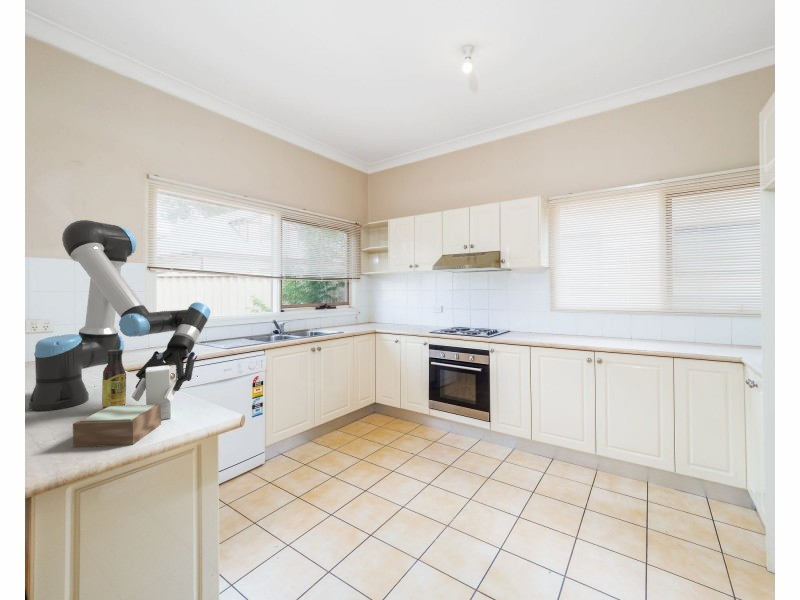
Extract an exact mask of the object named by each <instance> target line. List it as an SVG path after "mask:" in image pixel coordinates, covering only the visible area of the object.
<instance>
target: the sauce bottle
mask: <svg viewBox="0 0 800 600" xmlns="http://www.w3.org/2000/svg"><path fill="white" fill-rule="evenodd" d="M123 353H124V351H123V352H122V350H121V349H116V350H108V351H107V355H108V362H107V364H106V366H105V367H104V369H103V371H102V388H101V389H102V390H101V392H102V393H101V406H102V408H101V410H102V409H104V408H106V407H108V406H123V405H126V403H127V394H126V393H127V372H126V371H125V366H124V365H123V361H122V359H123Z"/></svg>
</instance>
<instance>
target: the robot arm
mask: <svg viewBox="0 0 800 600" xmlns="http://www.w3.org/2000/svg"><path fill="white" fill-rule="evenodd" d="M61 240H62V246H63V247H64V249H65V251H66V253H67V255H68V256H69V257H70V259H71V260H72V261H74V262H77V263H78V264H79V265H80V266H81V267H82V269H83V270H84V271H85V272H86V274H87V275H88V276H89V278H90V279H89V281H90V282H89V288H88V297H87V304H86V305H87V306H86V315H85V324H84V326H83V327H81V328H80V329H79V330H78V334H75V333H74V334H62V335H54V336H49V337H48V336H47V337H45V338H43V339H40V340H38V341H37V342H36V344H35V348H34V349H35V351H34V359H35V365H34V366H35V387H33V391H32V393H31V395H30V399H29V401H28V409H29V410H30V409H32V410H31V411H36V410H43V411H51V410H60V409H66V408H70V407H74V406H79V405H81V404H84V403H87V402H88V401H89V391H88V390H87V386H86V385H85V383H84V381H83V378H82V377H83V375H82V372H83V371H82V370H83V369H88V368H92V367H98V366H104V365H108V363H107V362H108V355H107V351H108V350H116V349H121V350H122V352H123V353H124V349H125V342H124V341H125V340H123V337H122V336H121V335H120V334H119V331H120V333H122V334H123V335H125V336H126V337H129V338H130V337H132V338H133V337H143V336H147V335H152V334H160V333H161V334H162V333H169V332H173V334H172V336H171V338H170V339H169V341H168V343H167V345H166V349H165V350H164V351H163V352H159V351H158V350H156V351H154V353H153V354H152V356H151V357H150V358H149V360H148V361H147V362H146V363H145V364H144V365H143V366H142V367H141V368H140V369H139V370H138V371H137V372H136V373H135V376H136V377H137V378H138V379H139V380H138V382H137V384H136V385H135V390H134V392H133V393H132V395H131V398H132V399H133V400H135V401H136V402H139V401H140V399H141V398H142V396H143V394H144V392H146V370H145V369H146V368H147V367H157V366H165V365H169V366H171V365H175V368H176V378H173V379H172V382H171V383H170V388H169V389H168V391H167V393H166V395H165V397H164V398H165V399H166V400H167V401H168V402H171V403H172V400H173V398H174V397H175V395H176V393H177V392H179V391H180V389H181V388H182V385H183V383H185V382H190V381H191V380H192V376H193V371H194V365H195V362H196V360H197V357H198V355H196V354H195V351H193V348H194V346H195V344H196V343H197V341H198V338H199V337H200V335H201V332H202V331H203V329H204V327H205V325H206V324H207V322H208V320H209V318H210V316H211V308H209V306H207V305H206V304H204V303H202V302H193V303H191V304H190V305H189V306H188V308H187V309H179V310H160V311H149V310H148V309H147V307H146V306H145V305H144V304H143V302H142V301H141V299H140V298H139V297H138V296H137V294H136V293H135V292H134V290H133V289H132V287H131V286H130V285H129V283H128V282H127V281H126V280H125V278H124V277H123V275H121V270H122V266H124V265H125V264H126V263H128V258H129V257H131V256H132V255H133V254H134V253H135V252H136V249H137V241H136V238H135V236H134V234H133V233H132V232H131V230H129V229H127V228H126V227H122V226H119V225H115V224H109V223H103V222H98V221H93V220H89V219H81V220H76V221H74V222H71V223H70V224H69V225H67V226H66V227H65V228H64V231H63V232H62V238H61ZM116 314H117V315H118V316H119V317H120V319H119V321H118V326H119V330H118V329H116V327H115V319H116ZM185 360H186V363H185V365H184V361H185ZM184 366H185V369H184Z"/></svg>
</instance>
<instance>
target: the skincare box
mask: <svg viewBox="0 0 800 600" xmlns="http://www.w3.org/2000/svg"><path fill="white" fill-rule="evenodd" d="M170 366H171V365H165V366H157V367H147V368H146V369H145V370H146V389H145V402H146V403H145V405H155V404H161V421H162V420H168V419H171V418H172V401H171V402H168V401H167V400H166V399H165V398H164V397H165V395H166V393H167V391H168V389H169V388H170V386H171V369H170Z"/></svg>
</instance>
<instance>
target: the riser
mask: <svg viewBox="0 0 800 600" xmlns="http://www.w3.org/2000/svg"><path fill="white" fill-rule="evenodd" d="M159 425H160V426H161V425H162V420H161V404H155V405H146V404H136V405H135V404H131V405H126V404H125V405H123V406H108V407H106V408H104V409H102V408H101V409H99V410H97V411H96V412H94V413H92V414H90V415H88V416H85V417H84V418H82V419H80V420H78V421H75V422H73V423H72V443H73V444H72V445H73V446H72V447H73V448H89V447H90V448H91V447H110V446H111V447H112V446H115V447H116V446H133V445H135V444H136V443H137V442H139V441H141V440H142V439H143V438H144V437H146V436H147V435H149V434H150V433H151V432H152V431H154V430H156V428H158V427H160V426H159Z"/></svg>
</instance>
